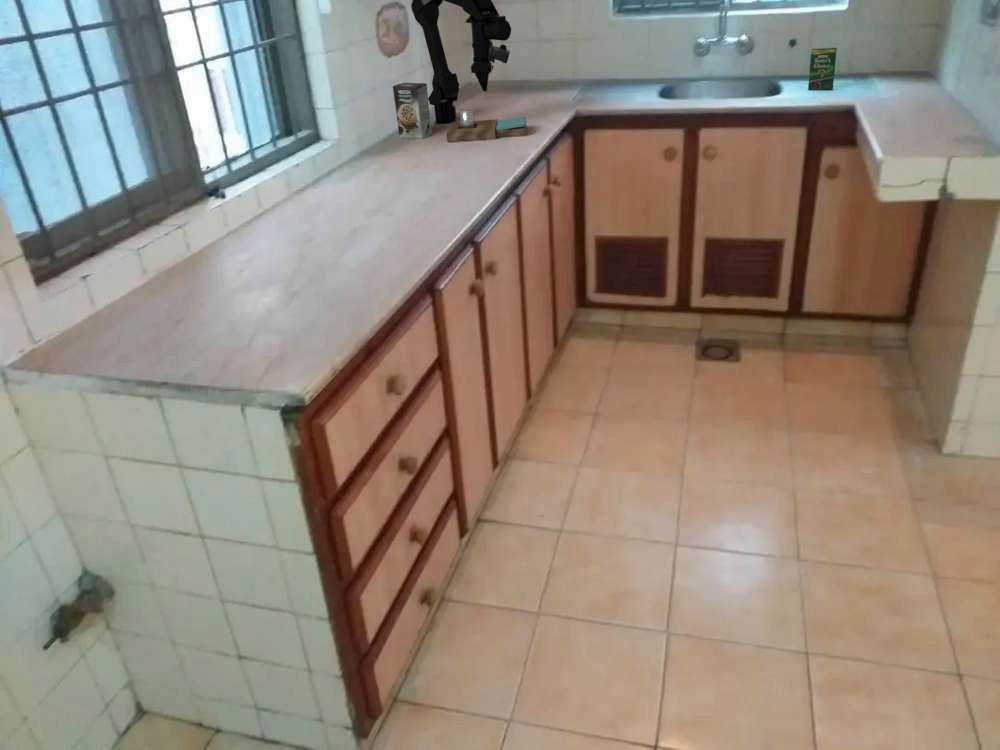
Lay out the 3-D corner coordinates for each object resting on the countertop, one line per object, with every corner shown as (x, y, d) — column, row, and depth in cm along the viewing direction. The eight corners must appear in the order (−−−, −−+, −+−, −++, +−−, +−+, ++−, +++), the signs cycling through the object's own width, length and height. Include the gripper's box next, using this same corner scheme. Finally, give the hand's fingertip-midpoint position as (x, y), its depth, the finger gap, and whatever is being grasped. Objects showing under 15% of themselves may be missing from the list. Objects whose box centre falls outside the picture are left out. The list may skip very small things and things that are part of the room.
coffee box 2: (806, 90, 276) (810, 49, 270) (808, 88, 278) (812, 47, 272) (831, 90, 273) (836, 49, 266) (833, 88, 275) (837, 47, 268)
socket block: (447, 142, 252) (446, 132, 250) (452, 131, 264) (451, 122, 262) (525, 137, 250) (525, 127, 248) (526, 126, 262) (526, 117, 260)
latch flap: (496, 130, 251) (496, 127, 251) (498, 123, 260) (498, 120, 259) (525, 125, 250) (525, 123, 249) (526, 118, 258) (525, 116, 258)
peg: (462, 137, 256) (459, 111, 252) (463, 134, 259) (460, 109, 255) (474, 137, 255) (472, 110, 251) (475, 133, 259) (473, 108, 255)
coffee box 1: (398, 138, 262) (391, 86, 254) (409, 133, 267) (402, 82, 259) (422, 139, 258) (415, 86, 250) (433, 134, 263) (427, 82, 255)
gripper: (506, 42, 243) (509, 96, 251) (508, 32, 259) (511, 83, 267) (468, 44, 244) (473, 98, 252) (474, 34, 260) (477, 85, 268)
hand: (485, 91), depth 259 cm, fingers closed
